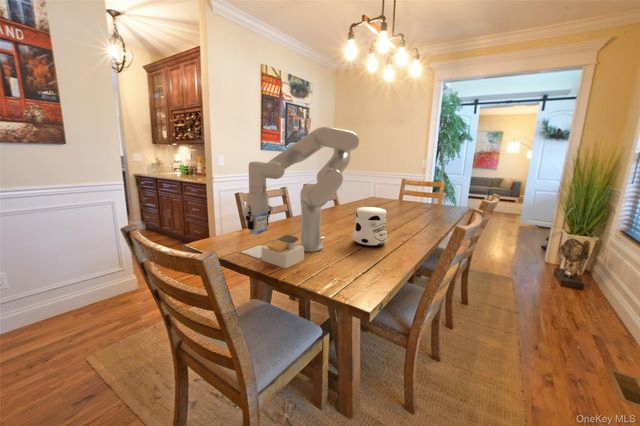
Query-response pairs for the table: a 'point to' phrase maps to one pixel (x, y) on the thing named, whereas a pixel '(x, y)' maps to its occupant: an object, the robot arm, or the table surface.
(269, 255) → the switch box
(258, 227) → the medicine box
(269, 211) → the robot arm
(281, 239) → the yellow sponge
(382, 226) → the milk container
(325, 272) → the table surface
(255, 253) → the pad
